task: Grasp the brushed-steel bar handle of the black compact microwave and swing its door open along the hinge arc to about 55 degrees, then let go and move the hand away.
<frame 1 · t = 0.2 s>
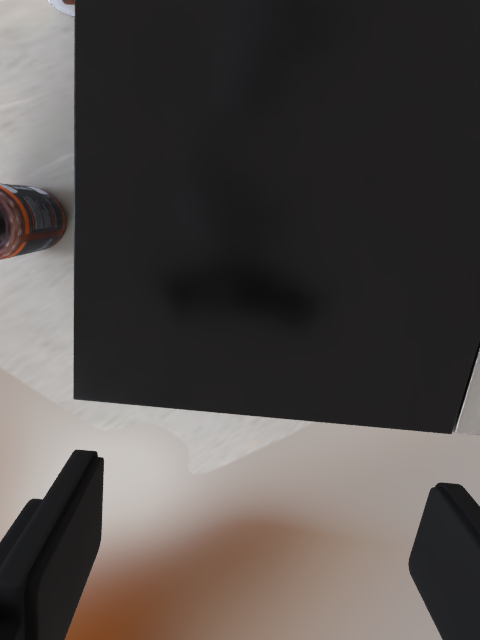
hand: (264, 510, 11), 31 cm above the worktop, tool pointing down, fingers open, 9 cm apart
microwave: (269, 171, 38), on the worktop
microwave door: (471, 243, 30), point 10 cm above the worktop, hinge at 0.0°
supplement bottle: (37, 218, 39), on the worktop
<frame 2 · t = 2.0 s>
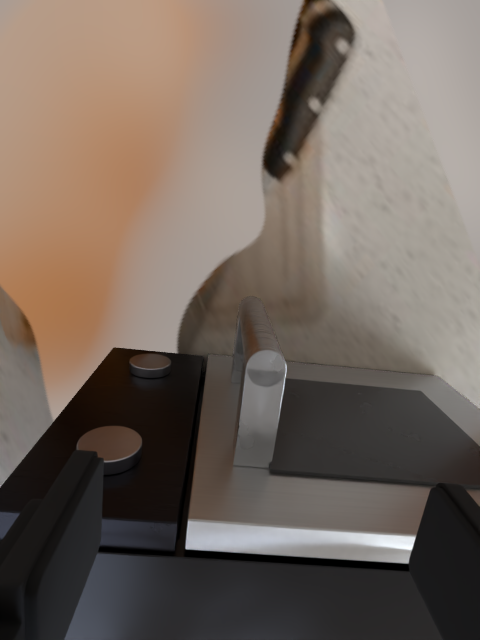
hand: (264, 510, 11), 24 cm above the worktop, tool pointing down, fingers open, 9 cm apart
microwave: (261, 478, 39), on the worktop
microwave door: (368, 387, 26), point 10 cm above the worktop, hinge at 0.0°
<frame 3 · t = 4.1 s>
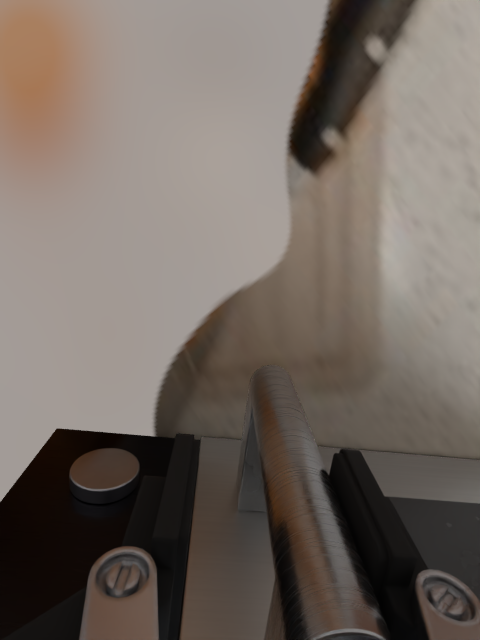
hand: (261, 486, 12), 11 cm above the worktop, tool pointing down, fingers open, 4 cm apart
microwave: (278, 604, 27), on the worktop
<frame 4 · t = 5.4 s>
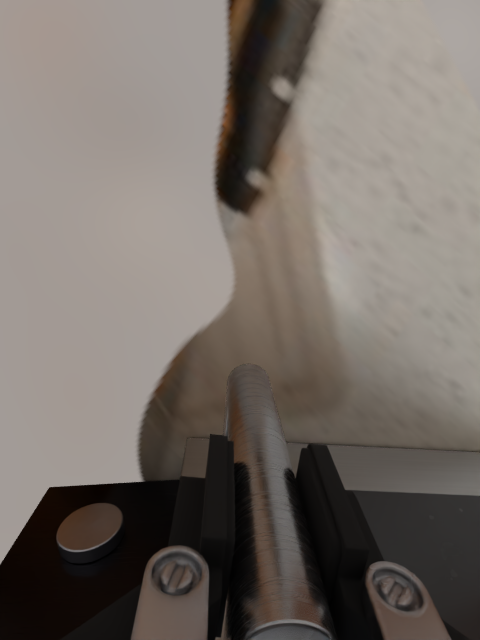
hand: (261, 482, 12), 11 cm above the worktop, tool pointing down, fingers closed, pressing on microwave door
microwave: (293, 621, 28), on the worktop
microwave door: (467, 544, 14), point 10 cm above the worktop, hinge at 7.0°, touching gripper
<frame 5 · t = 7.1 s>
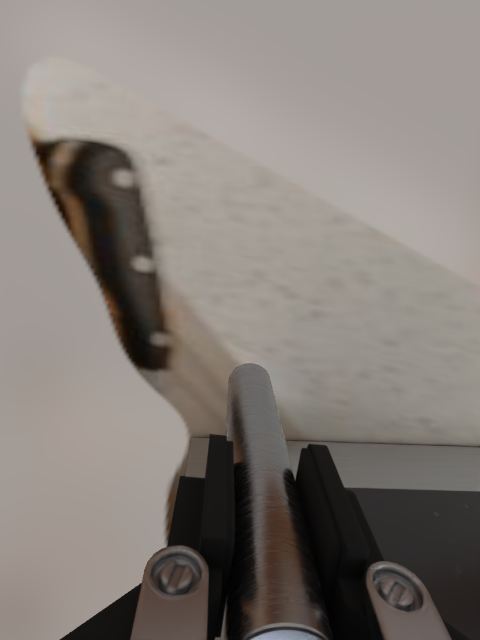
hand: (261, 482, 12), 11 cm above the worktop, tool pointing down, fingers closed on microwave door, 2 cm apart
microwave door: (471, 541, 14), point 10 cm above the worktop, hinge at 30.8°, touching gripper
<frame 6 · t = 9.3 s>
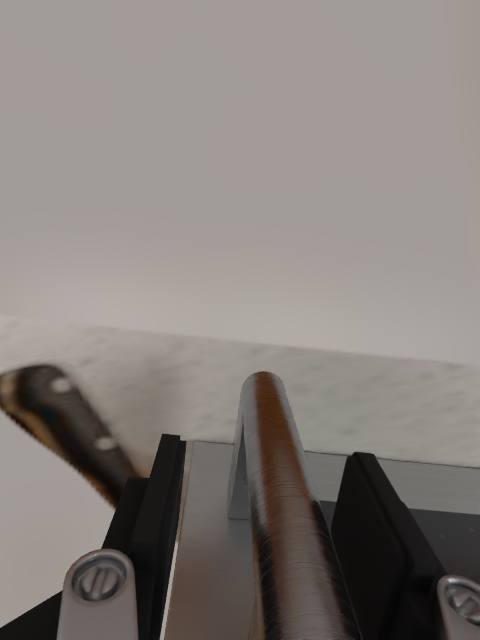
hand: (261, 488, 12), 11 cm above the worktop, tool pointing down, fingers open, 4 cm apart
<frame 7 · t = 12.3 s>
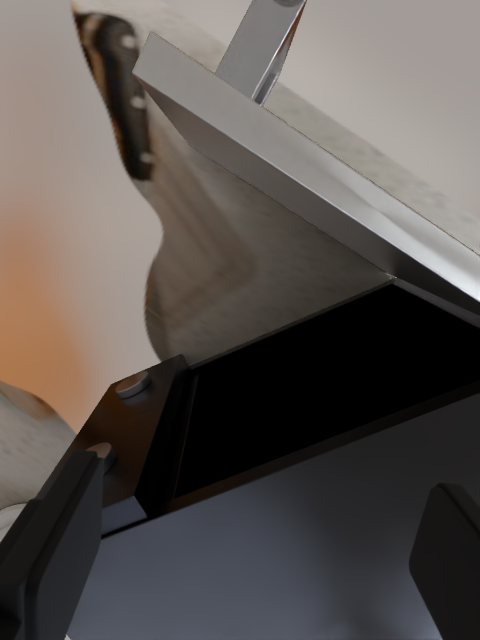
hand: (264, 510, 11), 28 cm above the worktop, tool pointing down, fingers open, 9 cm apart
microwave: (294, 427, 42), on the worktop
microwave door: (352, 160, 25), point 10 cm above the worktop, hinge at 55.3°
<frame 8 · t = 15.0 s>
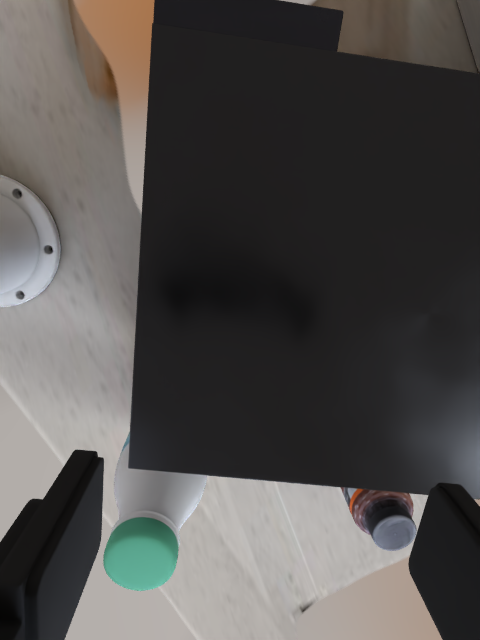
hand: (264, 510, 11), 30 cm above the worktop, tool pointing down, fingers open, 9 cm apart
milk bottle: (178, 407, 44), on the worktop
microwave: (332, 261, 40), on the worktop
supplement bottle: (355, 455, 46), on the worktop
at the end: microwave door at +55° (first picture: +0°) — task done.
